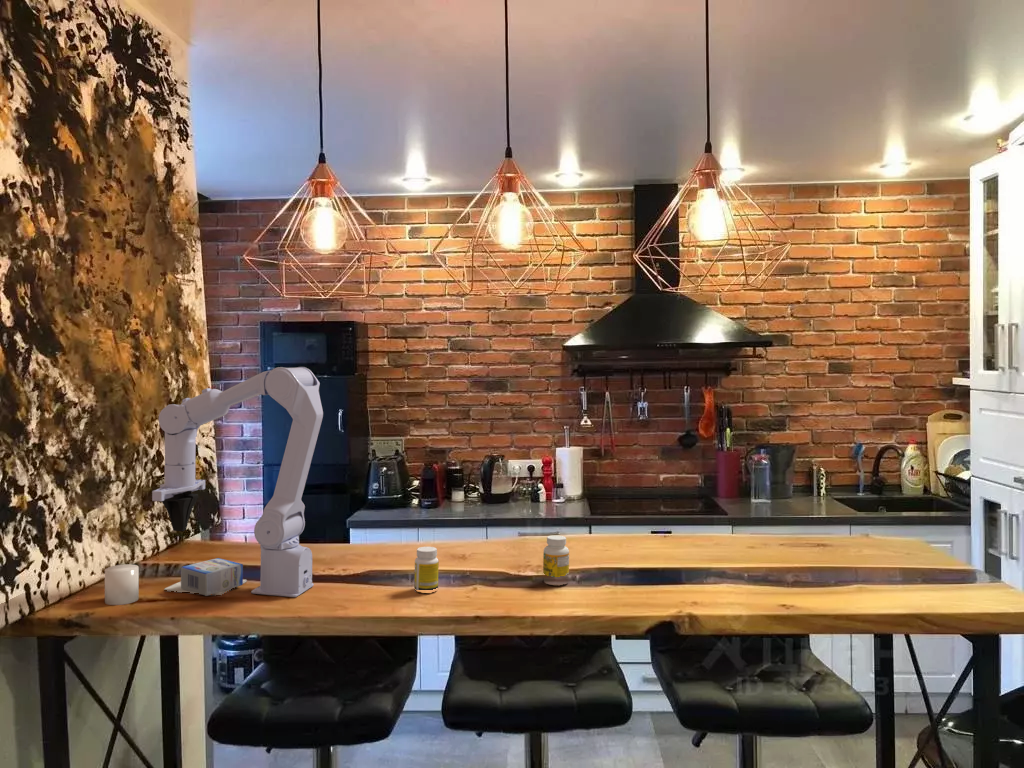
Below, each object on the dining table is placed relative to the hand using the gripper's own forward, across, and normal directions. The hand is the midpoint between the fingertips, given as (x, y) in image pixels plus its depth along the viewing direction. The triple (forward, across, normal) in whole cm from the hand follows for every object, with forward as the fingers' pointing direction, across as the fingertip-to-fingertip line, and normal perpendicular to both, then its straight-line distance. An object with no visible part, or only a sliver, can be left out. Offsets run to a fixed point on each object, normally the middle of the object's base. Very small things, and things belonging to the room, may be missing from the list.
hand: (179, 530), depth 152 cm
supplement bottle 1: (+11, -7, +50) cm, 52 cm away
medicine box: (+8, +7, +8) cm, 13 cm away
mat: (+10, +1, +7) cm, 13 cm away
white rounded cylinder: (+10, +13, -3) cm, 17 cm away
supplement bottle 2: (+11, -19, +74) cm, 78 cm away
